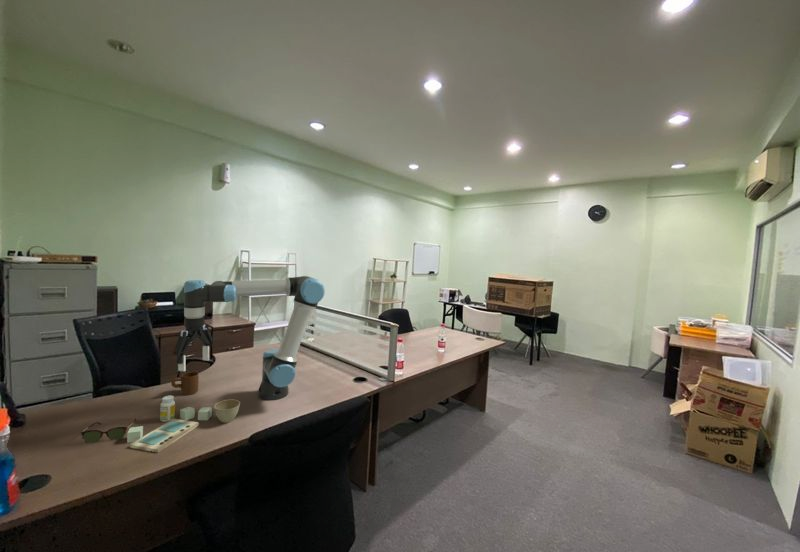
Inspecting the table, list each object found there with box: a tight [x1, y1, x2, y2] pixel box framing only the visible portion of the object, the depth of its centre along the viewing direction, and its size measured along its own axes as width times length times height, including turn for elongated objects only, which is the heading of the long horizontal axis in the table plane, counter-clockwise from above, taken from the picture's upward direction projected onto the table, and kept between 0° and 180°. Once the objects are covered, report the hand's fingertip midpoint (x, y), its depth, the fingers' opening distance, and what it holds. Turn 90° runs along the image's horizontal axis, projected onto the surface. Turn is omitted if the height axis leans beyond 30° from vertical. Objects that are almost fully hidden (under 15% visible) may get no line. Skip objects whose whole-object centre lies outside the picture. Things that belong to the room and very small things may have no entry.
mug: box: [170, 371, 200, 396], centre depth 171 cm, size 12×8×9 cm, turn 142°
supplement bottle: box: [159, 395, 176, 423], centre depth 146 cm, size 5×5×10 cm
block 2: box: [179, 406, 196, 421], centre depth 148 cm, size 4×4×4 cm
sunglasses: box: [80, 418, 137, 444], centre depth 135 cm, size 14×15×5 cm
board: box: [129, 418, 200, 453], centre depth 134 cm, size 12×20×1 cm, turn 171°
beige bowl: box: [213, 398, 241, 424], centre depth 148 cm, size 10×10×7 cm
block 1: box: [126, 425, 144, 444], centre depth 130 cm, size 4×4×4 cm
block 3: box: [197, 406, 213, 421], centre depth 149 cm, size 4×4×4 cm
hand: (194, 365), depth 145 cm, fingers open, 13 cm apart
